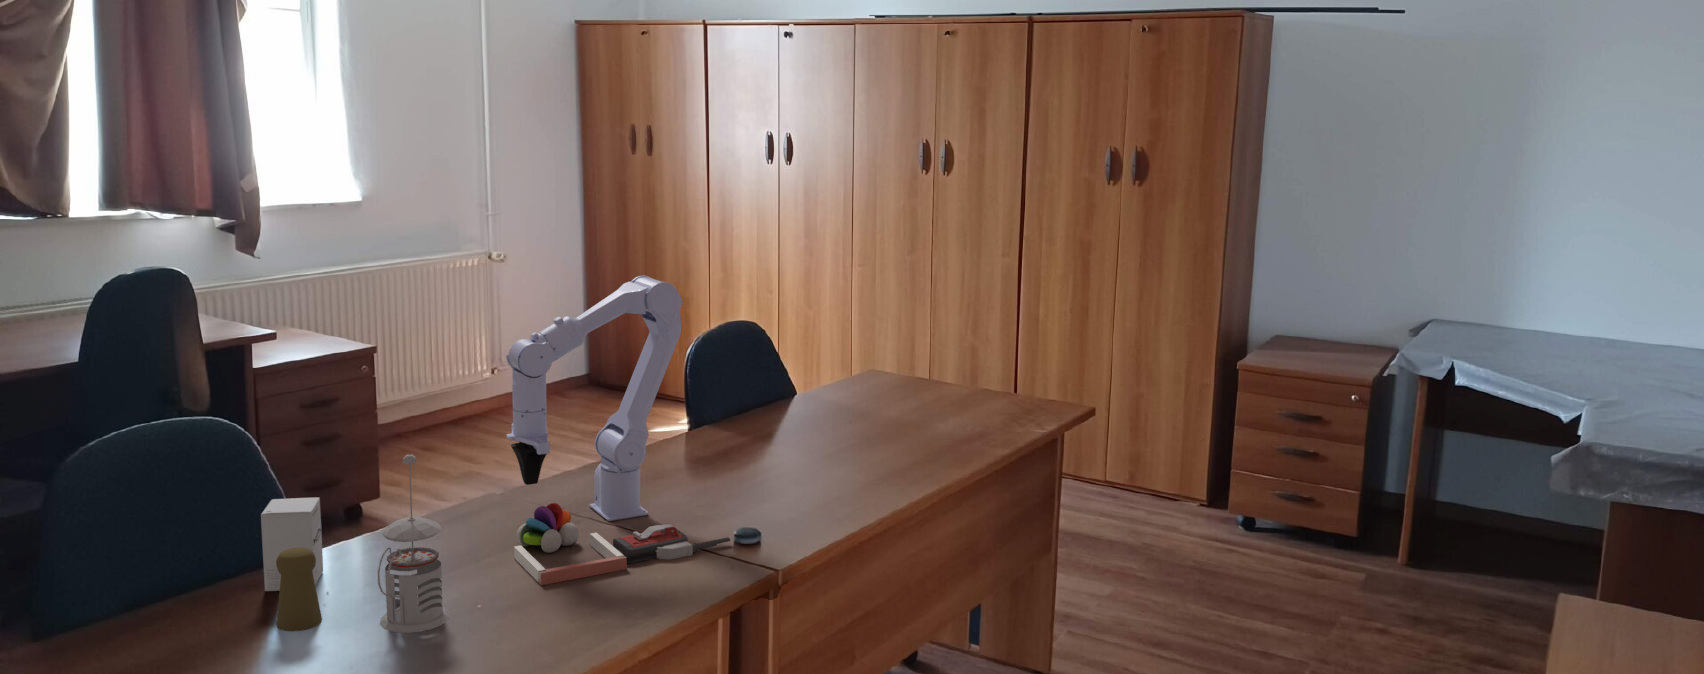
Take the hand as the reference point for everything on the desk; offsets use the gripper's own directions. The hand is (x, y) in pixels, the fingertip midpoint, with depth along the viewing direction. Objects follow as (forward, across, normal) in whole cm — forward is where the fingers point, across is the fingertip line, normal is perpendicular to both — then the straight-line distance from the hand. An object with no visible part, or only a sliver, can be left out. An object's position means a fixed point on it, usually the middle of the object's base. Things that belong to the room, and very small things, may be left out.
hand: (530, 483), depth 219 cm
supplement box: (+9, +6, -40) cm, 41 cm away
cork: (+9, +22, -42) cm, 48 cm away
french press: (+9, +30, -28) cm, 42 cm away
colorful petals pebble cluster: (+9, +9, 0) cm, 13 cm away
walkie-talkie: (+9, +21, +17) cm, 28 cm away
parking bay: (+8, +18, 0) cm, 20 cm away
